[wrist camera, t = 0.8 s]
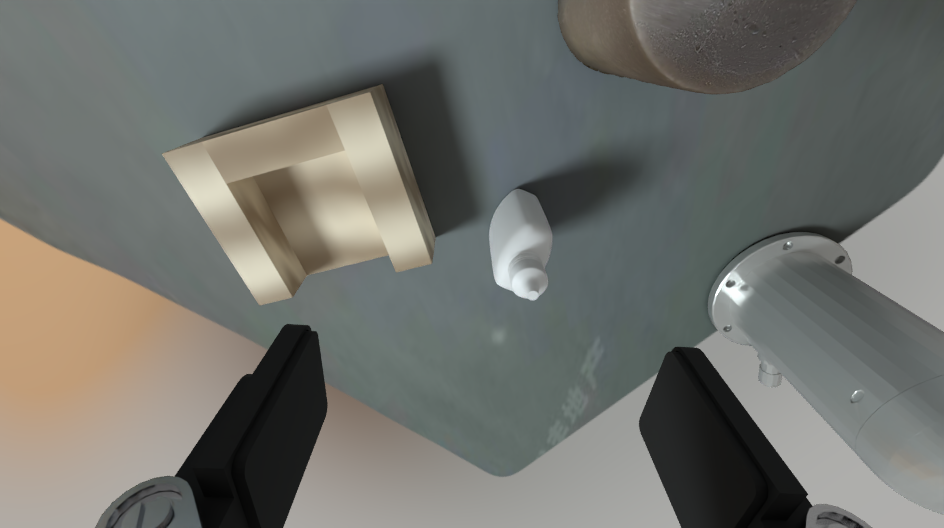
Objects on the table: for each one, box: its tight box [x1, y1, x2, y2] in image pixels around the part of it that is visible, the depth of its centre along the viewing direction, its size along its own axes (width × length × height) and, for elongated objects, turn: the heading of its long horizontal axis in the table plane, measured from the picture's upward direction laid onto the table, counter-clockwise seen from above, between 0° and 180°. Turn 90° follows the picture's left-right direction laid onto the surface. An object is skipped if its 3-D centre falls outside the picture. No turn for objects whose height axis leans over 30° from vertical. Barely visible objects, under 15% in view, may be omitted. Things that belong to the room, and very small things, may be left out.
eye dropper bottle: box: [489, 189, 553, 300], centre depth 30 cm, size 4×6×12 cm
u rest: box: [162, 84, 436, 305], centre depth 32 cm, size 13×15×5 cm
